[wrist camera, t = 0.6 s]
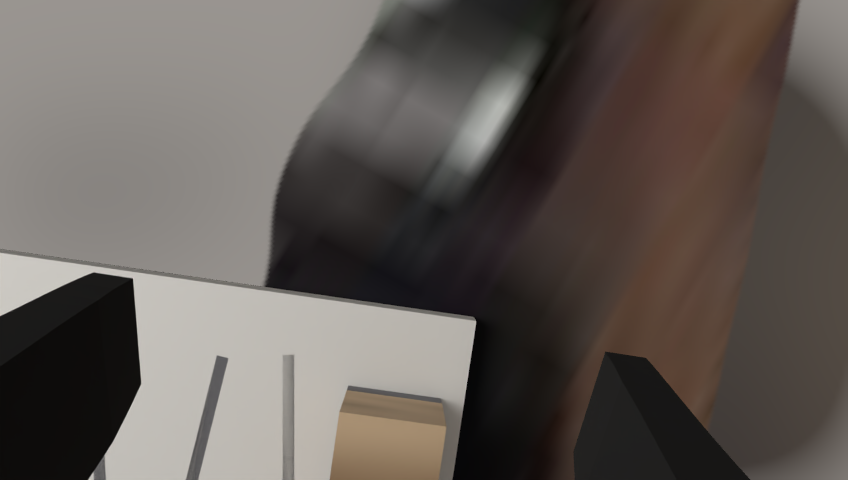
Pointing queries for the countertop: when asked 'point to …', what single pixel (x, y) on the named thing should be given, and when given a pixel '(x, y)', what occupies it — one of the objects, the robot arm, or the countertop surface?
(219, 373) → the board
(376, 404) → the cork block
